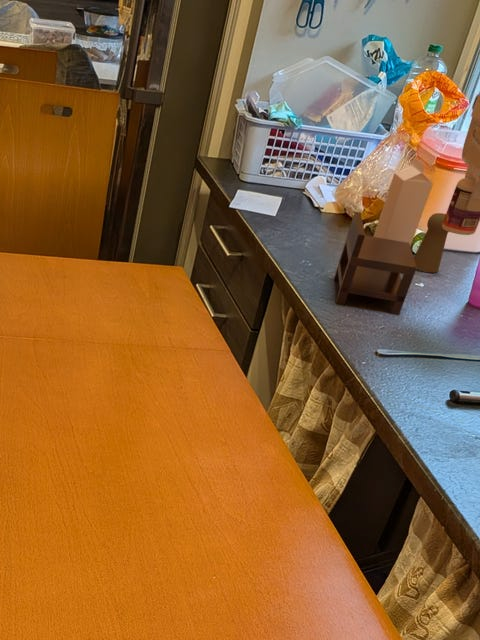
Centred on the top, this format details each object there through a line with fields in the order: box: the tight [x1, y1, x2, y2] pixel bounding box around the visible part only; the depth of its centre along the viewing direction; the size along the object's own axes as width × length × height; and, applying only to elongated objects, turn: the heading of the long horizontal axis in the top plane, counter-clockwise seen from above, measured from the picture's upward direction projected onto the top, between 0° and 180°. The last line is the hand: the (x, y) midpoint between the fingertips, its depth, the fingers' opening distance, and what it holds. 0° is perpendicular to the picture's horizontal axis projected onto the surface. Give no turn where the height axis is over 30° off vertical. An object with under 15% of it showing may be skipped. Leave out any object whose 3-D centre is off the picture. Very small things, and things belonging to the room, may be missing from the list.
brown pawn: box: [413, 212, 449, 273], centre depth 199 cm, size 6×6×11 cm
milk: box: [372, 157, 434, 275], centre depth 189 cm, size 6×6×22 cm
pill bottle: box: [442, 165, 480, 236], centre depth 151 cm, size 5×5×10 cm
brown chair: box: [333, 211, 417, 316], centre depth 181 cm, size 12×16×13 cm
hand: (467, 204), depth 152 cm, fingers closed on pill bottle, 5 cm apart
